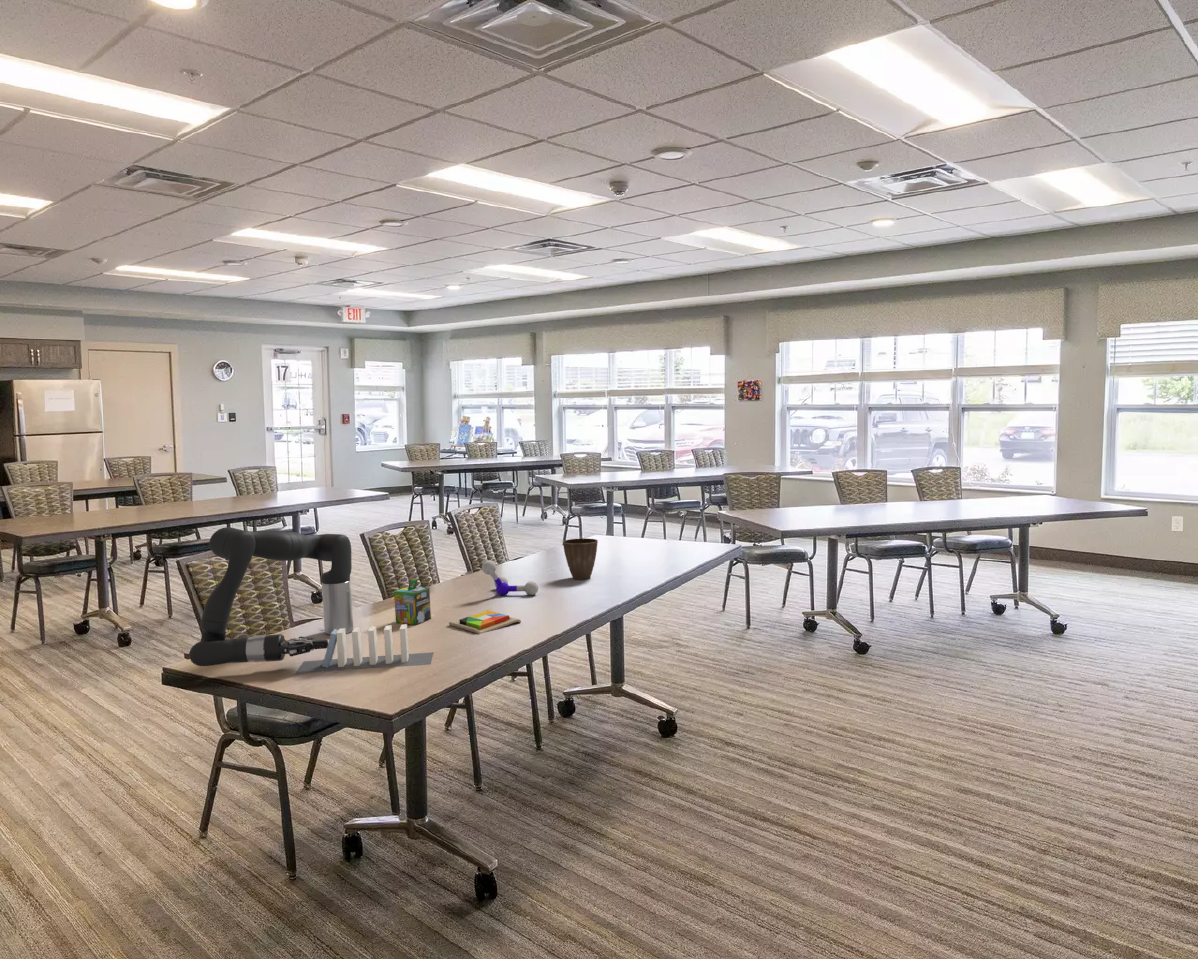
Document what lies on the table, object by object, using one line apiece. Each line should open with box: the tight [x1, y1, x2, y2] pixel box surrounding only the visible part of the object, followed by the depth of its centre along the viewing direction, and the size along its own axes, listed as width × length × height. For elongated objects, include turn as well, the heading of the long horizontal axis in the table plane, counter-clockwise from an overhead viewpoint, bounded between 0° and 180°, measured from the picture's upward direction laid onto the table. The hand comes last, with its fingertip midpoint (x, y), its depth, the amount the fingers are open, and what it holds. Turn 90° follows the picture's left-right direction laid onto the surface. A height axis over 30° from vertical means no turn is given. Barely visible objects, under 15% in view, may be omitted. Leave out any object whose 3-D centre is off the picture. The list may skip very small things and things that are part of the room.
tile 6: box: [399, 624, 410, 663], centre depth 248 cm, size 2×5×10 cm, turn 7°
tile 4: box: [367, 625, 379, 665], centre depth 247 cm, size 2×5×10 cm, turn 7°
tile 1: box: [322, 629, 338, 668], centre depth 246 cm, size 2×5×10 cm, turn 7°
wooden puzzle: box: [448, 610, 522, 635], centre depth 289 cm, size 18×19×4 cm
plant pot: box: [562, 537, 599, 581], centre depth 360 cm, size 15×15×16 cm
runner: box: [294, 651, 434, 675], centre depth 248 cm, size 38×12×1 cm, turn 97°
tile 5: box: [383, 624, 394, 664], centre depth 248 cm, size 2×5×10 cm, turn 7°
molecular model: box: [481, 560, 539, 596], centre depth 335 cm, size 21×21×15 cm
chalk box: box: [393, 578, 432, 626], centre depth 296 cm, size 9×9×15 cm
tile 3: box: [351, 626, 363, 666], centre depth 247 cm, size 2×5×10 cm, turn 7°
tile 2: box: [336, 628, 348, 667], centre depth 246 cm, size 2×5×10 cm, turn 7°
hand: (327, 644), depth 245 cm, fingers closed
